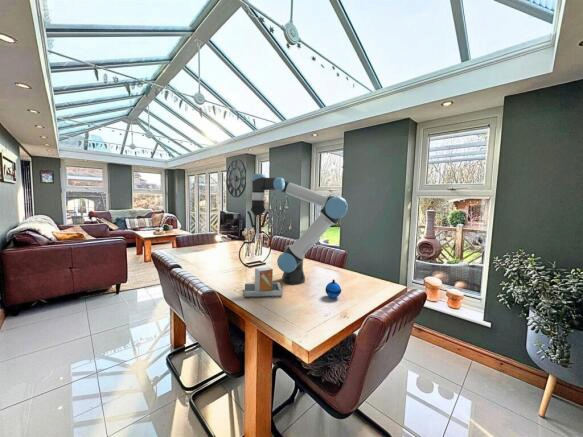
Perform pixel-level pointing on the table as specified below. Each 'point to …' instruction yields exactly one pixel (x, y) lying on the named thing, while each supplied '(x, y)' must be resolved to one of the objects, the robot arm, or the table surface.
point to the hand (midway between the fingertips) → (257, 238)
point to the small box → (263, 279)
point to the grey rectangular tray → (252, 293)
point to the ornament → (333, 289)
